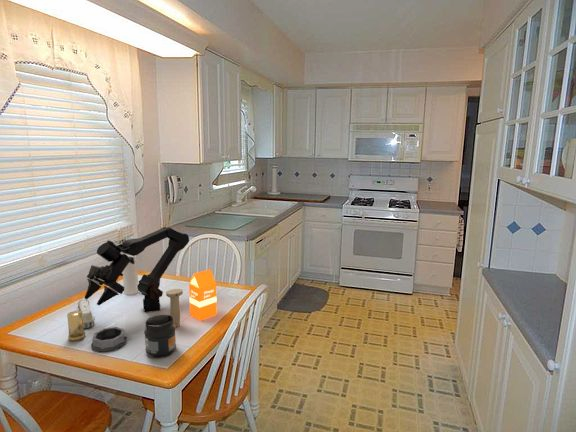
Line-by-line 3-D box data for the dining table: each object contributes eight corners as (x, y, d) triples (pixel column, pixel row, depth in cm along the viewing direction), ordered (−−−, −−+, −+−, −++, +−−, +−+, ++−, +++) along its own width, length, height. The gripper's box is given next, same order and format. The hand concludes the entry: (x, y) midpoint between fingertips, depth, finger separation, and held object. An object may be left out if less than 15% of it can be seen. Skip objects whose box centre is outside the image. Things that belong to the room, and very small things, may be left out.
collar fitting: (127, 333, 147) (127, 324, 146) (125, 349, 136) (125, 339, 135) (93, 338, 143) (93, 328, 142) (88, 354, 132) (88, 344, 131)
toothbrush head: (89, 296, 172) (94, 310, 151) (90, 311, 173) (95, 326, 151) (76, 299, 169) (79, 312, 148) (77, 313, 170) (80, 329, 149)
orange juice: (217, 314, 165) (216, 271, 161) (199, 321, 159) (198, 276, 155) (206, 309, 170) (205, 266, 167) (189, 315, 164) (188, 271, 160)
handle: (185, 326, 154) (184, 291, 151) (170, 330, 150) (168, 295, 147) (181, 321, 158) (179, 287, 155) (165, 325, 154) (164, 291, 151)
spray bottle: (123, 290, 189) (120, 242, 184) (138, 288, 192) (135, 241, 187) (124, 295, 183) (121, 246, 179) (138, 293, 186) (136, 244, 181)
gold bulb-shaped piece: (86, 333, 147) (84, 309, 145) (84, 340, 141) (81, 315, 140) (70, 335, 145) (67, 311, 143) (67, 342, 140) (64, 317, 138)
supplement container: (181, 345, 139) (180, 315, 137) (166, 361, 129) (165, 328, 127) (156, 341, 142) (154, 312, 139) (139, 356, 131) (137, 324, 129)
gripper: (89, 252, 152) (63, 286, 146) (115, 261, 142) (87, 298, 135) (109, 266, 160) (85, 299, 153) (135, 276, 150) (110, 311, 143)
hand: (91, 301), depth 146 cm, fingers open, 9 cm apart
